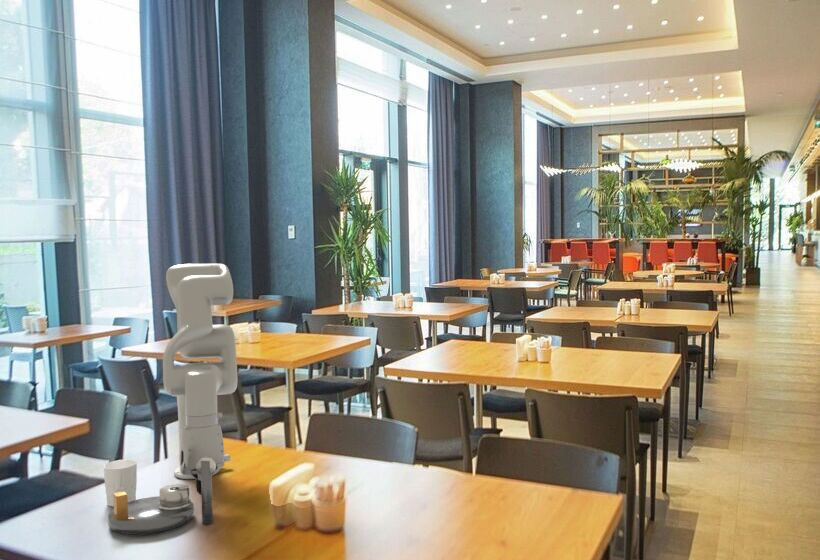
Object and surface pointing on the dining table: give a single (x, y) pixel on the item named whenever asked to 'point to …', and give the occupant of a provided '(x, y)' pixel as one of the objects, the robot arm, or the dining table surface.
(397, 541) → the dining table surface
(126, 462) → the white cup
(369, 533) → the dining table surface
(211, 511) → the dial post
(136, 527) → the turntable
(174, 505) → the cover
